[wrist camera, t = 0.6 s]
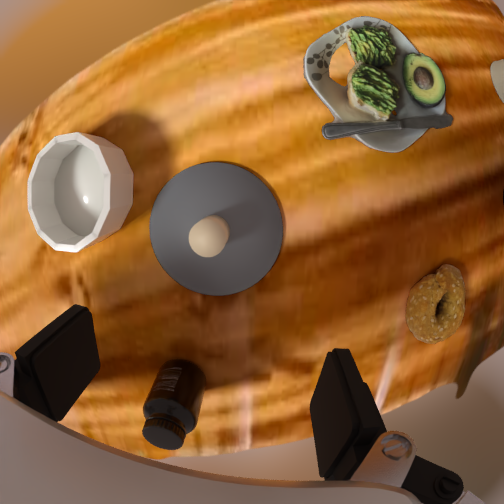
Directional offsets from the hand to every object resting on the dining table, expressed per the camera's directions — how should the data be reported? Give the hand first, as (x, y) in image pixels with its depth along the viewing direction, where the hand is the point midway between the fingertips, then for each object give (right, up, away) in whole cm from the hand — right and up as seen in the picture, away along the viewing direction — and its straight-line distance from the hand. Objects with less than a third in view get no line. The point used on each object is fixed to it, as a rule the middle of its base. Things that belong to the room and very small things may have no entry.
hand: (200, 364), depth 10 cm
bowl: (-18, +12, +20) cm, 30 cm away
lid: (-2, +7, +21) cm, 23 cm away
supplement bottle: (-8, -13, +26) cm, 31 cm away
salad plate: (+18, +25, +17) cm, 34 cm away
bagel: (+27, -2, +23) cm, 35 cm away
